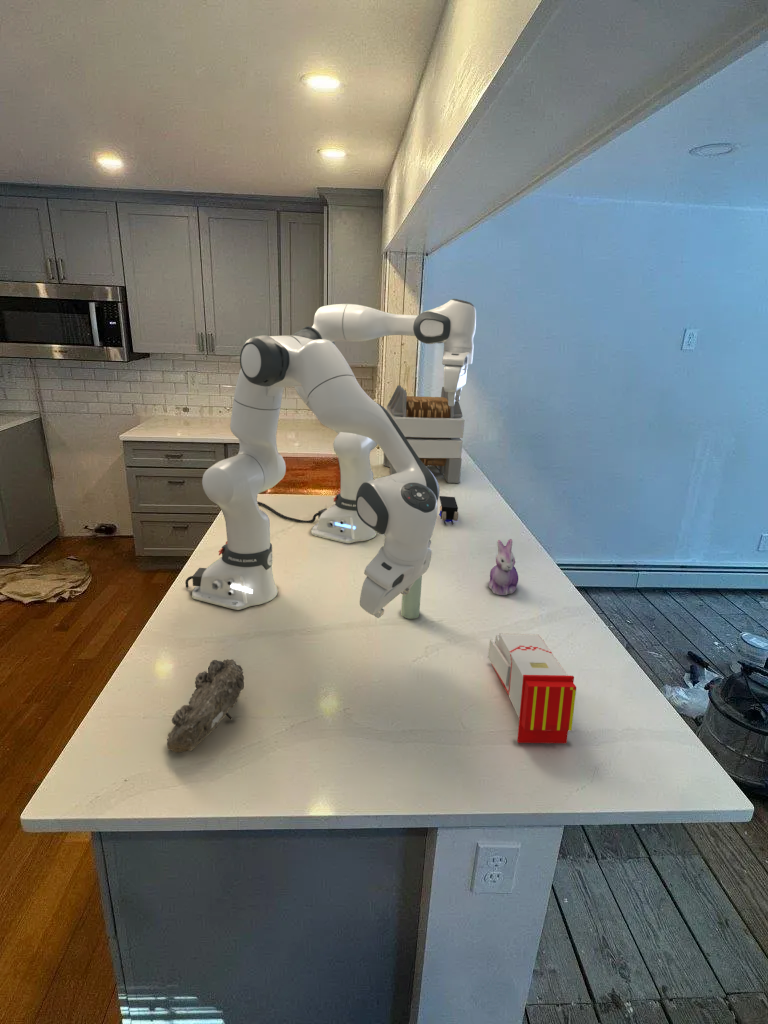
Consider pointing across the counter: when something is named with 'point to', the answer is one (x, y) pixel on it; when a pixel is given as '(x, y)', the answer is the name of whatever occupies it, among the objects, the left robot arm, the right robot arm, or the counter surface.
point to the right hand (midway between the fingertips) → (454, 403)
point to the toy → (534, 687)
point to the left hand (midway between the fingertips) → (391, 603)
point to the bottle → (412, 601)
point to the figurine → (504, 571)
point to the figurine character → (448, 509)
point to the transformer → (430, 430)
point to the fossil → (206, 705)
